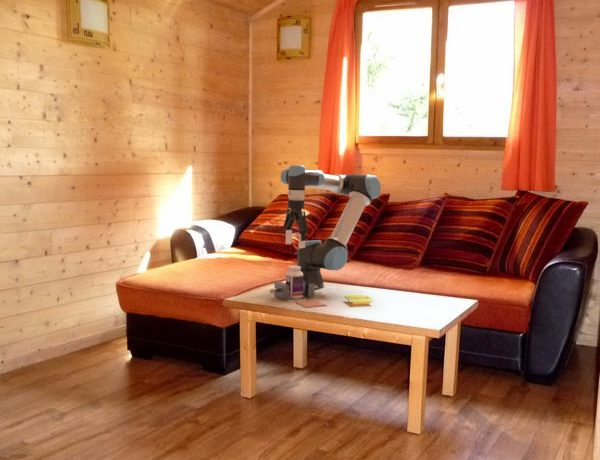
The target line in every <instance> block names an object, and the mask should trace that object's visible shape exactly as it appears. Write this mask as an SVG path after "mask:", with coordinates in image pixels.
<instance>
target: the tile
mask: <svg viewBox="0 0 600 460" xmlns="http://www.w3.org/2000/svg"><path fill="white" fill-rule="evenodd" d="M295 303H296V304H297V305H300V306H301V307H302V306H303V307H304V308H306V309H308V308H309V309H310V308H317V307H318V308H319V307H320V308H321V307H327V306H328V305H327V303H324V302H322V301H320V300H318V299H308V300H307V299H306V300H297V301H295Z"/></svg>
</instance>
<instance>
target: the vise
mask: <svg viewBox="0 0 600 460" xmlns="http://www.w3.org/2000/svg"><path fill="white" fill-rule="evenodd" d="M315 290H318V286H317V285H315V286H314V283H313V282H310V281H308V280H303V297H304V298H306V299H308V300H310V299H315ZM269 293H273V294H274V295H273V296H274V298H276V299H278V300H280V301H282V302H284V301H285V302H286V301H289V299H290V298H289V285H288V284H286V282H283V281H274V288H270V289H269Z"/></svg>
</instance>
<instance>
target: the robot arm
mask: <svg viewBox="0 0 600 460" xmlns="http://www.w3.org/2000/svg"><path fill="white" fill-rule="evenodd" d="M280 180H281V182H282V183H283V184H284V185H288V192H287V198H288V199H287V209H286V216H285V220H284V223H283V228H284V229H285V245H292V240H293V231H292V230H293V225H294V223H295V222H296V224H297V226H298V231H299V232H298V244H297V250H296V251H297V255H296V256H297V257H296V258H297V263H296V264H297V265H296V266H300V267H301V270H300V271H301V272H302V273H303V280H308V281H310V282H313V283H314V286H315V285H317V286H318V289H322V288H324V285H325V283H324V282H325V281H324V279H323V275H322V271H321V270H322V269H323V270H328V271H339V270H341V269H343V268H344V267H345V266H346V264H347V262H348V259H349V258H348V256H349V252H348V245H347V243H348V242H349V239H350V237H351V236H352V234H353V232H354V229H355V227H356V225H357V223H358V222H359V219H360V218H361V215H362V214H363V212H364V209H365V207H366V206H369V205H370V204H371V202H372V200H376V199H378V198H379V197H380V196H381V193H382V192H381V191H382V184H381V181H380V179H379V178H378V176H376V175H374V174H373V175H371V174H359V173H358V174H355V173H348V174H347V173H346V174H339V173H335V174H333V175H332V174H326V173H324V172H323V171H322V170H320V169H306V166H305V165H302V164H301V165H300V164H299V165H296V164H295V165H294V164H291V165H289V167H288V168H284V169H283V170H282V171H281V173H280ZM306 188H312V189H313V188H314V189H320V190H328V191H331V192H332V193H335V194H340V195H343V196H347V197H349V199H348V201H347V203H346V205H345V208H344V209H343V211H342V214H341V215H340V217H339V219H338V222H337V223H336V225H335V227H334V229H333V231H332V233H331V235H330V236H329V237H326V238H325V241H324V242H323V243H322V240H320V239H318V240H316V239H315V240H314V239H313V240H306V234H307V233H309V228H308V223H307V217H306V211H304V210H302V209H305V202H306V201H305V197H306V196H305V195H306ZM318 289H317V290H318Z"/></svg>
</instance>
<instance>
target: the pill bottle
mask: <svg viewBox="0 0 600 460" xmlns="http://www.w3.org/2000/svg"><path fill="white" fill-rule="evenodd" d="M300 270H301V267H300V266H297V265H288V271H287V272H286V273H285V284H288V285H289V299H292V300H293V299H294V300H297V299H301V298H303V297H304V296H303V273H302V272H301V271H300Z"/></svg>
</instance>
